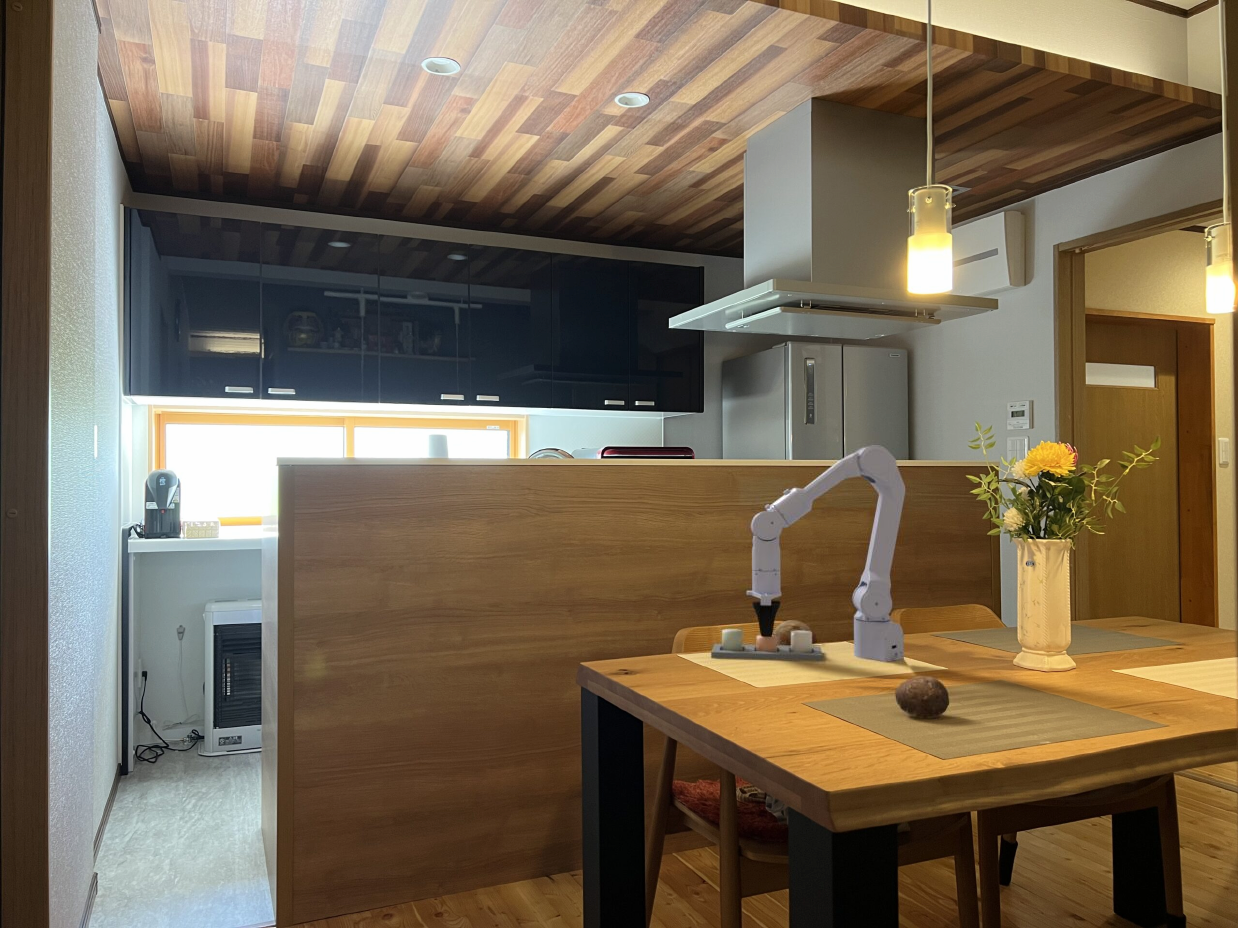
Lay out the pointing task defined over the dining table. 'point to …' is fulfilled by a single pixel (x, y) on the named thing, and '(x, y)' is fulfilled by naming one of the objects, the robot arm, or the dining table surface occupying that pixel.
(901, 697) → the brown rough oval lump
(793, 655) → the grey rectangular tray
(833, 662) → the dining table surface
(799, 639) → the button ivory
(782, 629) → the bread roll
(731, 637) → the button sage
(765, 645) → the button terracotta
